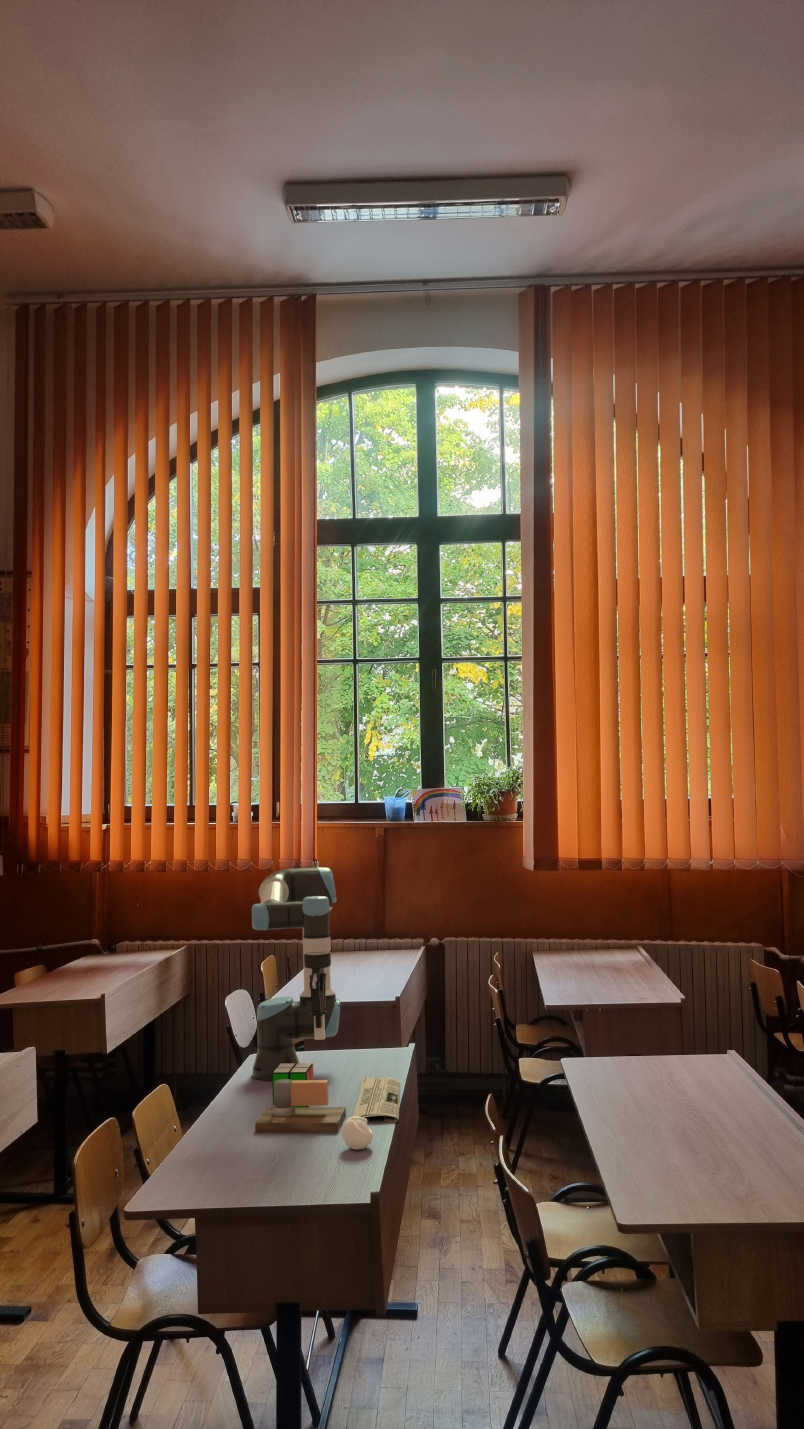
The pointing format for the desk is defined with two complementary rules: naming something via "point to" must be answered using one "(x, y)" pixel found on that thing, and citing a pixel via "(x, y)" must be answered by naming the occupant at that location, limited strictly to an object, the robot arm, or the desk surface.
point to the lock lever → (300, 1093)
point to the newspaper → (378, 1099)
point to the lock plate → (300, 1119)
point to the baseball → (357, 1133)
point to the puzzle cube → (293, 1073)
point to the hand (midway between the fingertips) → (319, 1039)
